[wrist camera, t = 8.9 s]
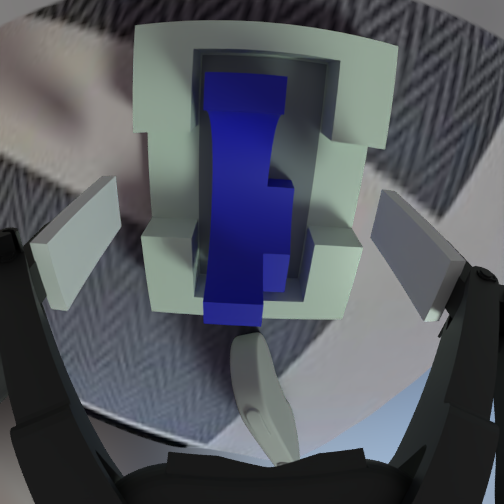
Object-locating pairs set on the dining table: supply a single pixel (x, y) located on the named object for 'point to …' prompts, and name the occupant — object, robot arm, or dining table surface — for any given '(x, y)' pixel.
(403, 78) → the dining table surface
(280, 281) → the cable clip
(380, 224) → the robot arm
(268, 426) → the slide sandal
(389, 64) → the holder
